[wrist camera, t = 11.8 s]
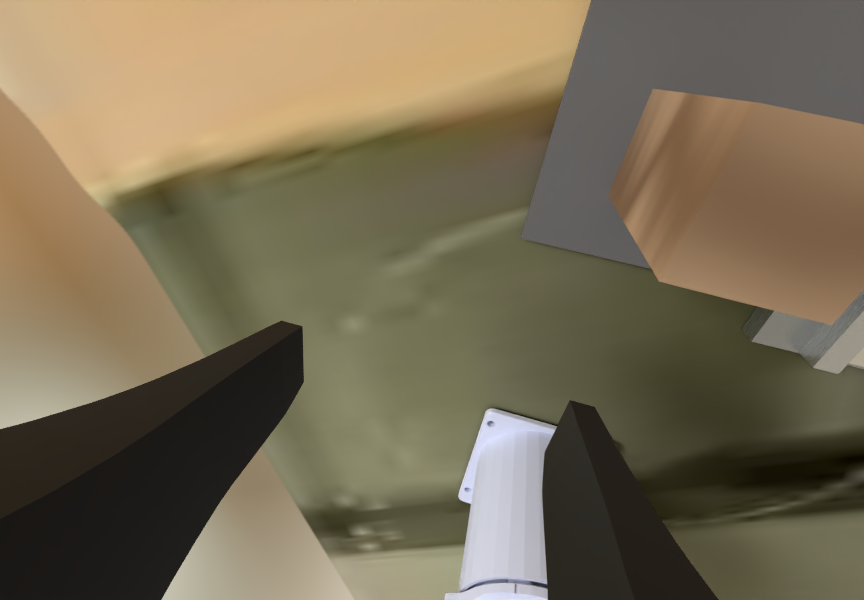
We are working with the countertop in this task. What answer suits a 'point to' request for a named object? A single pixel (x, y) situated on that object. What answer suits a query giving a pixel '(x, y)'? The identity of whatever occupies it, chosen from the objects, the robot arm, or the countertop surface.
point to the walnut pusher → (747, 202)
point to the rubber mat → (688, 73)
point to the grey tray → (813, 336)
